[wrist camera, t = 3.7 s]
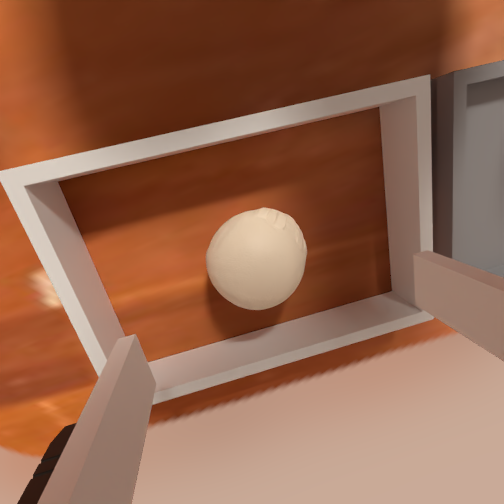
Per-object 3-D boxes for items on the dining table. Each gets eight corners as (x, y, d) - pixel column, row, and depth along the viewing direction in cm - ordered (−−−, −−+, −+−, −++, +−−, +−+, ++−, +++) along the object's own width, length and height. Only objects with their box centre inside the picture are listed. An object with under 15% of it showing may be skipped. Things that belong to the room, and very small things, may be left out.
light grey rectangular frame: (130, 377, 25) (117, 415, 21) (36, 169, 19) (-5, 171, 16) (402, 297, 27) (433, 318, 24) (390, 89, 22) (430, 74, 18)
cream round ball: (308, 234, 24) (346, 260, 18) (253, 299, 25) (270, 345, 19) (247, 182, 22) (265, 190, 16) (189, 254, 23) (184, 289, 17)
